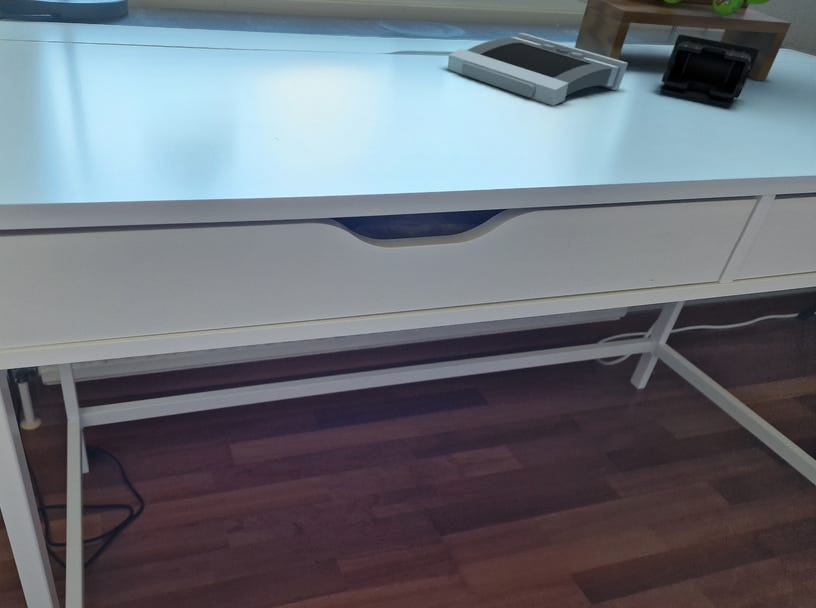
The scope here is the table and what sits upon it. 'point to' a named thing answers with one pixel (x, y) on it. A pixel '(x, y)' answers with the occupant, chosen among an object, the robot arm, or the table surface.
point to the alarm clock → (537, 67)
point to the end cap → (707, 70)
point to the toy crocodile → (727, 5)
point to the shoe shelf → (644, 3)
